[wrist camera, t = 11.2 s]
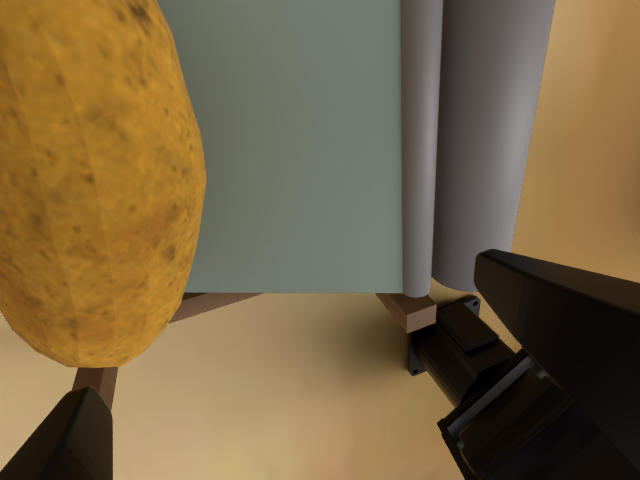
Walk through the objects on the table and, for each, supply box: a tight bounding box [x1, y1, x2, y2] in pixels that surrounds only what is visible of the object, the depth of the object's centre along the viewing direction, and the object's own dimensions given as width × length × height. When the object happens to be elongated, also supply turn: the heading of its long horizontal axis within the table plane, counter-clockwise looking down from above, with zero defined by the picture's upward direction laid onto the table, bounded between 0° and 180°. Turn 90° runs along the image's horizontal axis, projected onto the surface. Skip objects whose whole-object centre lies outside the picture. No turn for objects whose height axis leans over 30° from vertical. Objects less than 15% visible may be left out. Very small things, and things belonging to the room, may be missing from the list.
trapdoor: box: [157, 0, 556, 298], centre depth 15 cm, size 16×18×4 cm
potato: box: [0, 0, 207, 368], centre depth 12 cm, size 7×14×7 cm, turn 172°
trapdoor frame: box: [72, 292, 437, 411], centre depth 14 cm, size 20×20×8 cm
